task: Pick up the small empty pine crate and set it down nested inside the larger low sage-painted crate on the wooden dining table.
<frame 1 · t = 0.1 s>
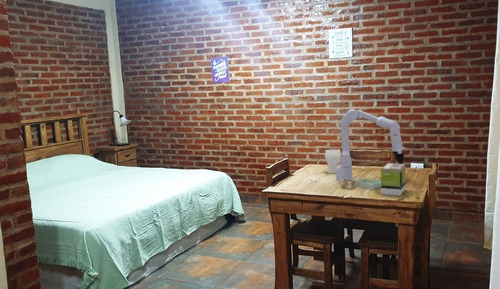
hand: (400, 163, 259), 11 cm above the table, tool pointing down, fingers open, 7 cm apart
tea box: (393, 192, 233), on the table
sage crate: (368, 186, 249), on the table
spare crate: (388, 184, 251), on the table
beige flared cylinder: (333, 172, 292), on the table
pine crate: (348, 188, 247), on the table
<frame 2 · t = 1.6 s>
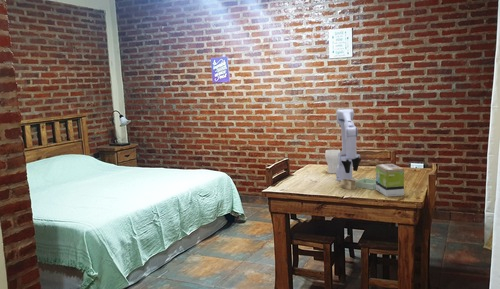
hand: (351, 171, 245), 9 cm above the table, tool pointing down, fingers open, 7 cm apart
tea box: (389, 193, 233), on the table
everything else where it was.
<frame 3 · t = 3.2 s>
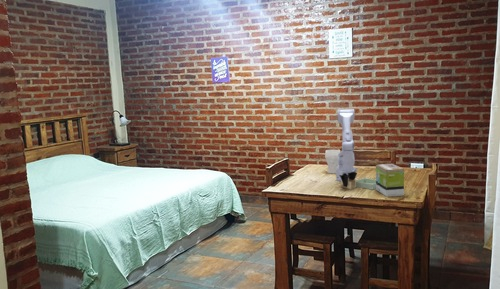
hand: (348, 185, 247), 1 cm above the table, tool pointing down, fingers closed on pine crate, 5 cm apart
pine crate: (348, 188, 247), on the table, touching gripper
everything else where it was.
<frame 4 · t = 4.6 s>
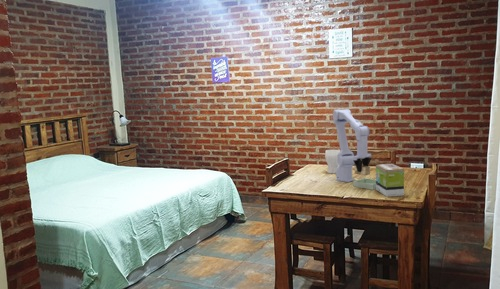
hand: (362, 171, 247), 9 cm above the table, tool pointing down, fingers closed on pine crate, 5 cm apart
pine crate: (362, 174, 247), point 8 cm above the table, touching gripper
everything else where it was.
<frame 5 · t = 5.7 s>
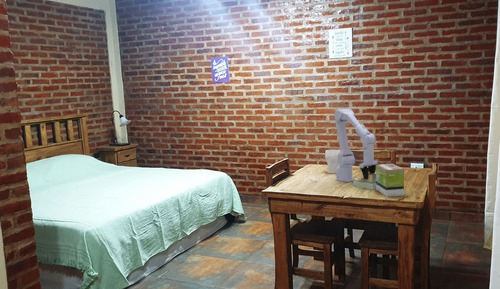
hand: (368, 178, 248), 5 cm above the table, tool pointing down, fingers closed on pine crate, 5 cm apart
pine crate: (368, 181, 249), point 3 cm above the table, touching gripper
everything else where it was.
when the fingers open (4 cm above the table, at t = 6.4 s): pine crate drops 1 cm, resting on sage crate.
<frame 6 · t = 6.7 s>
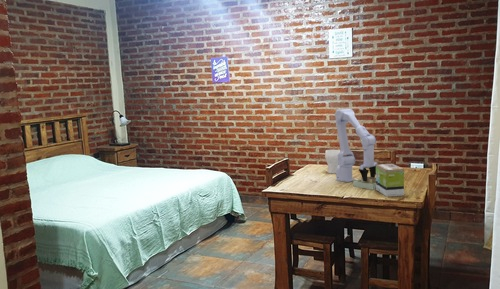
hand: (368, 179, 249), 4 cm above the table, tool pointing down, fingers open, 7 cm apart
pine crate: (368, 185, 249), resting on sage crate
everything else where it was.
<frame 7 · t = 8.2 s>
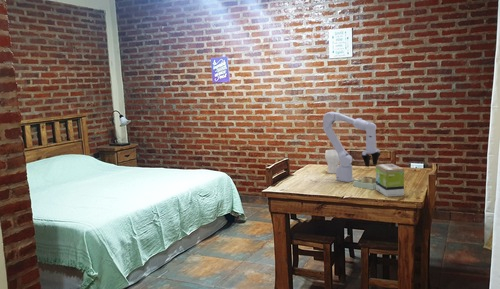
hand: (371, 165, 259), 10 cm above the table, tool pointing down, fingers open, 7 cm apart
nothing on the table moved.
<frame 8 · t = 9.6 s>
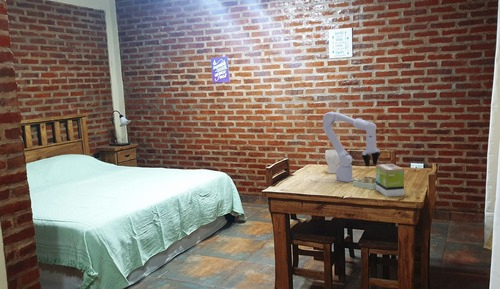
hand: (371, 165, 259), 10 cm above the table, tool pointing down, fingers open, 7 cm apart
nothing on the table moved.
at the end: pine crate 0.1 cm off-centre on the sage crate, point 0.5 cm above the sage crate's base; pine crate tilted 0°; the gripper is holding nothing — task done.
